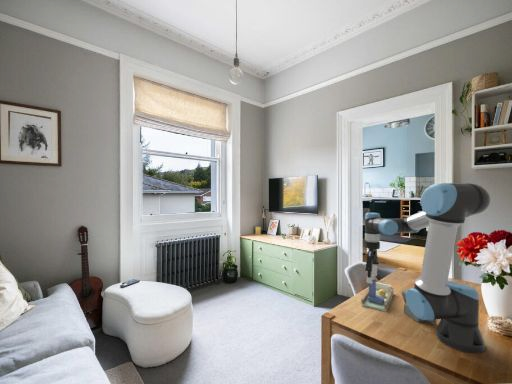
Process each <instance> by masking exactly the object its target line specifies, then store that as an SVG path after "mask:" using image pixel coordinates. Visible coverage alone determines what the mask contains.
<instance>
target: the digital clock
mask: <svg viewBox="0 0 512 384" xmlns="http://www.w3.org/2000/svg"><path fill="white" fill-rule="evenodd" d="M406 291H407V290H405V289H403V290H401V296H402V299H403V302H404V304H403V315H406V316H407V317H409V318H411V319H412V320H414V321H416V322H418V323H425V322H428V323H430V324H432V325H436V324H437V319H436V320H422V319H419V318H418V317H416V316H415V315H414V314H413V313H412V311H411V310H410V308H409V306H408V304H407V302H406Z"/></svg>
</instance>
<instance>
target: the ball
mask: <svg viewBox="0 0 512 384" xmlns="http://www.w3.org/2000/svg"><path fill="white" fill-rule="evenodd" d="M378 293H379V295H380V296H383V297H384V296H385V295H386V291H385V290H384V289H380V290H379V291H378Z"/></svg>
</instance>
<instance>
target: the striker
mask: <svg viewBox="0 0 512 384" xmlns="http://www.w3.org/2000/svg"><path fill="white" fill-rule="evenodd" d="M376 282H377V280H376V276H374V275H372V284H371V283H368V289H369V297H368V301H370V302H374V303H378V304H383V302H384V297H383V296H378V295H376Z"/></svg>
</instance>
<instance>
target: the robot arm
mask: <svg viewBox="0 0 512 384" xmlns="http://www.w3.org/2000/svg"><path fill="white" fill-rule="evenodd" d="M490 203H491V196H490V193H489V192H488V190H487V189H486V188H484V187H482V186H481V185H478V184H475V183H471V182H470V183H467V182H466V183H459V182H458V183H457V182H455V183H453V182H450V183H449V182H442V183H434V184H431V185H429V186H428V187H427V188H425V189H424V191H423V192H422V194H421V197H420V206H421V209H422V210H421V211H418V212H417V213H414V214H412V215H409V216H407V217H404V218H403V217H402V218H399V217H398V218H383V217H381V214H380V213H379V212H366V213H365V215H364V248H365V249H368V251H367V252H366V255H367V256H366V265H365V269H364V271H365V272H366V283H367V284H369V283H371V284H372V275H374V276H375V277H377V276H378V265H379V260H378V250H380V248H381V242H380V240H381V238H382V236H381V234H384V235H389V236H393V235H394V234H414V233H419V232H420V231H421V230H423V229H425V228H428V230H427V234H426V235H427V236H426V241H425V247H424V254H423V259H422V260H423V261H422V266H421V270H420V277H418V278H416V279H415V281H414V285H413V287H410V288H408V289H407V290H406V302H407V304H408V306H409V308H410V310H411V311H412V313H413V314H414V315H415V316H416V317H418V318H419V319H422V320H436V321H437V320H439V323H438V324H437V325H438V326H437V328H436V337H437V339H438V340H439V341H441V342H442V343H443V344H445V345H446V346H449V347H450V348H453V349H455V350H458V351H461V352H465V353H472V354H473V353H474V354H480V353H483V352H485V350H486V349H485V347H486V346H485V345H486V344H485V340H484V338H483V335H482V333H481V332H482V331H481V330H480V326H479V324H480V323H479V321H480V320H479V317H480V315H479V314H480V313H479V312H480V311H479V310H480V308H479V307H480V304H479V303H480V302H479V301H480V299H479V292H478V290H477V289H476V288H474V287H472V286H470V285H468V284H467V285H466V284H464V283H461V282H460V283H459V282H455V281H451V280H449V275H450V269H451V265H452V259H453V254H454V248H455V244H456V240H457V239H456V238H457V233H458V228H459V227H460V226H462V225H464V224H465V221H466V218H467V217H468V218H469V217H470V216H475V215H477V214H478V215H479V214H481V213H483V212H484V211H486V210H487V209H488V208H489V206H490Z"/></svg>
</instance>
